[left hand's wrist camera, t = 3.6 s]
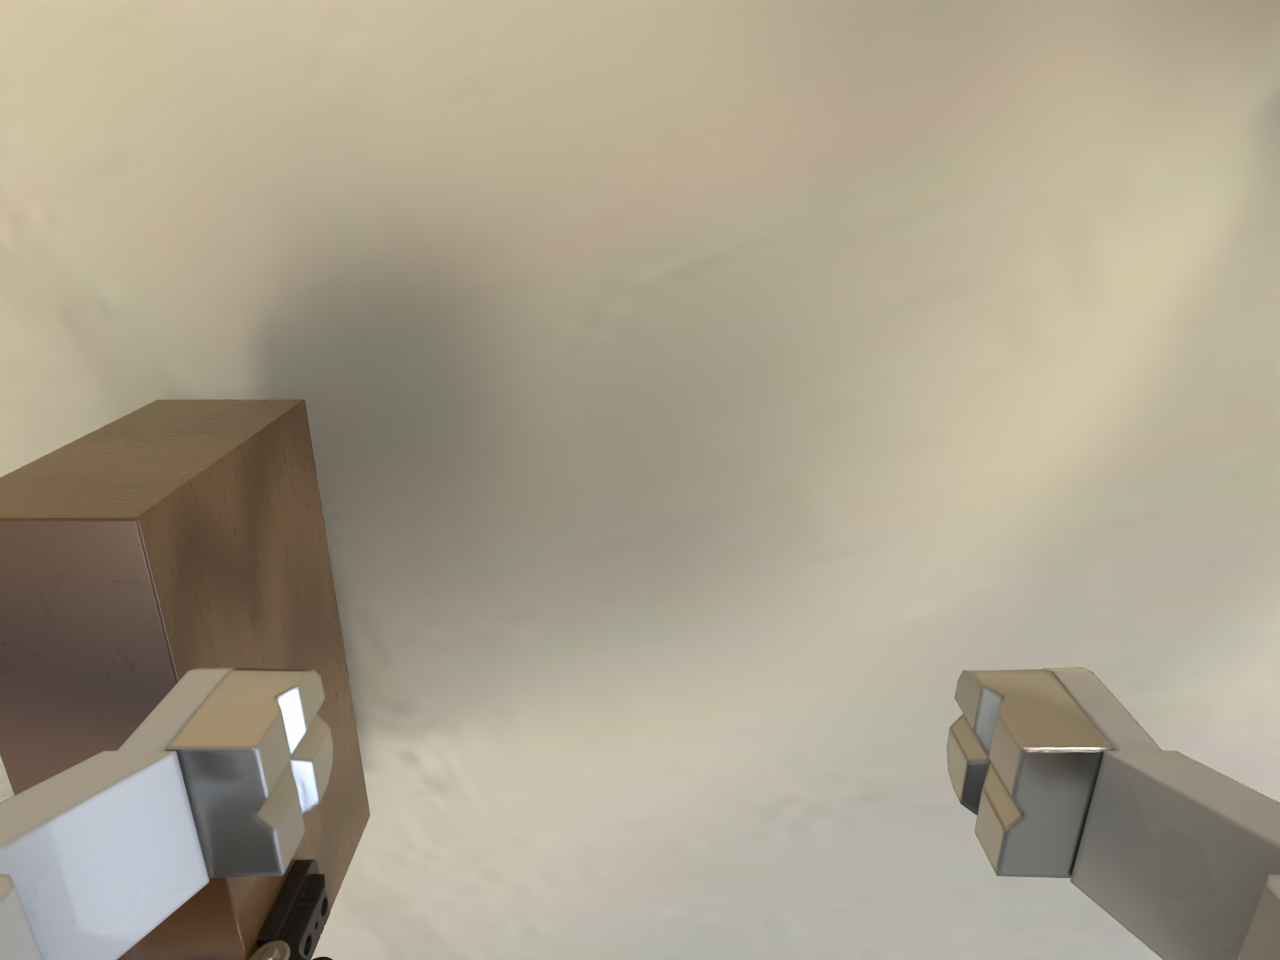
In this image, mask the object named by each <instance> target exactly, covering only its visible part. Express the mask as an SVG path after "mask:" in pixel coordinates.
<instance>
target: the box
mask: <svg viewBox="0 0 1280 960" xmlns="http://www.w3.org/2000/svg"><path fill="white" fill-rule="evenodd" d="M197 668H234V669H237V668H263V669H311V670H315V671H316V672H317V673H318V674H319V675H320V676H321V680H322V684H323V689H324V694H325V700H324V701H323V703H322V705H321V707H320V708H319V710H318V712H317V714H318V715H319V716H320V717H321V718H322V719H323V720H324V721H325V722H326V723H327V724H328V725H329V726H330V728H331V734H332V741H333V764H332V768H331V773H330V777H329V782H328V786H327V788H326V790H325V792H324V795H323V797H322V799H321V801H320V803H319V804H318V805H317V806H315V807H314V808H312V809H311V810H310V811H308V812H307V813H305V814H304V815H303V821H304V826H305V834H304V835H303V837H302V839H301V841H300V843H299V845H298V847H297V849H296V851H295V853H294V855H293V857H292V859H291V861H290V863H289V865H288V867H287V869H286V871H285V873H284V875H283V876H262V877H227V878H209V883H208V884H206V885H205V886H204V887H203V888H202V889H201V890H199V891H198V892H197V893H196V894H195V895H193V896H192V897H191V898H190V899H189V900H187V901H186V902H185V903H184V904H183V905H181V906H180V907H179V908H178V909H177V910H176V911H174V912H173V913H172V914H171V915H170V916H168V917H167V918H166V919H165V920H164V921H162V922H161V923H160V924H159V925H158V926H156V927H155V928H154V929H153V930H152V931H151V932H149V933H148V934H147V935H146V936H145V937H143V938H142V939H141V940H140V941H139V942H137V943H136V944H135V945H134V946H133V947H131V948H130V949H129V950H128V951H127V952H126V953H124V954H123V955H122V956H121V957H120V958H118V959H117V960H247V959H248V958H249V957H250V956H251V955H252V954H253V953H254V952H255V951H256V950H257V949H258V944H257V940H256V939H257V937H258V934H259V932H260V930H261V928H262V926H263V924H264V922H265V920H266V918H267V916H268V914H269V912H270V910H271V908H272V906H273V904H274V902H275V900H276V898H277V896H278V894H279V892H280V890H281V888H282V886H283V884H284V882H285V880H286V878H287V876H288V874H289V872H290V870H291V868H292V866H293V864H294V862H295V861H296V860H297V859H315V860H317V863H318V868H319V874H325V879H326V885H327V890H328V895H329V901H330V911H331V908H332V906H333V904H334V901H335V899H336V896H337V894H338V892H339V889H340V887H341V884H342V882H343V879H344V877H345V875H346V872H347V870H348V867H349V865H350V863H351V860H352V858H353V855H354V853H355V851H356V848H357V846H358V843H359V841H360V839H361V836H362V834H363V831H364V829H365V827H366V824H367V822H368V819H369V817H370V811H369V805H368V798H367V792H366V786H365V779H364V773H363V767H362V760H361V754H360V747H359V741H358V735H357V728H356V722H355V716H354V709H353V703H352V697H351V690H350V684H349V678H348V671H347V665H346V659H345V652H344V646H343V640H342V633H341V627H340V620H339V614H338V608H337V601H336V595H335V589H334V582H333V576H332V570H331V563H330V557H329V551H328V544H327V538H326V532H325V525H324V519H323V512H322V506H321V500H320V493H319V487H318V481H317V474H316V468H315V462H314V455H313V449H312V443H311V436H310V430H309V424H308V417H307V411H306V405H305V400H156V401H154V402H152V403H150V404H148V405H146V406H144V407H142V408H140V409H138V410H136V411H134V412H132V413H130V414H128V415H126V416H124V417H122V418H120V419H118V420H116V421H114V422H112V423H110V424H108V425H106V426H104V427H102V428H100V429H98V430H96V431H94V432H92V433H90V434H88V435H86V436H84V437H82V438H80V439H77V440H75V441H73V442H71V443H69V444H67V445H65V446H63V447H61V448H59V449H57V450H55V451H53V452H51V453H49V454H47V455H45V456H43V457H41V458H39V459H37V460H35V461H33V462H31V463H29V464H27V465H25V466H23V467H21V468H19V469H17V470H15V471H13V472H11V473H9V474H7V475H5V476H3V477H1V478H0V755H1V758H2V761H3V764H4V767H5V769H6V772H7V775H8V778H9V781H10V783H11V786H12V789H13V792H14V795H17V794H19V793H21V792H23V791H25V790H27V789H29V788H31V787H33V786H35V785H37V784H39V783H41V782H43V781H45V780H47V779H49V778H51V777H53V776H55V775H57V774H59V773H61V772H63V771H65V770H67V769H69V768H71V767H73V766H75V765H77V764H79V763H81V762H83V761H85V760H87V759H89V758H91V757H93V756H95V755H97V754H99V753H101V752H103V751H117V750H118V749H119V748H120V747H121V746H122V745H123V744H124V742H125V741H126V740H127V739H128V738H129V737H130V736H131V735H132V733H133V732H134V731H135V730H136V729H137V728H138V727H139V726H140V724H141V723H142V722H143V721H144V720H145V719H146V718H147V717H148V715H149V714H150V713H151V712H152V711H153V710H154V709H155V708H156V706H157V705H158V704H159V703H160V702H161V701H162V700H163V699H164V697H165V696H166V695H167V694H168V693H169V692H170V691H171V690H172V688H173V687H174V686H175V685H176V684H177V683H178V682H179V681H180V679H181V678H182V677H183V676H184V675H185V674H186V673H187V672H188V671H190V670H193V669H197Z"/></svg>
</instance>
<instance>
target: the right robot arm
mask: <svg viewBox="0 0 1280 960" xmlns="http://www.w3.org/2000/svg"><path fill="white" fill-rule="evenodd" d="M329 915H330V901H329V895H328V890H327V885H326V879H325V874H319V868H318V863H317V860H315V859H297V860H296V861H295V862H294V864H293V866H292V868H291V870H290V872H289V874H288V876H287V878H286V880H285V882H284V884H283V886H282V888H281V890H280V892H279V894H278V896H277V898H276V900H275V902H274V904H273V906H272V908H271V910H270V912H269V914H268V916H267V918H266V920H265V922H264V924H263V926H262V928H261V930H260V932H259V934H258V937H257V939H256V940H257V944H258V949H257V950H256V951H255V952H254V953H253V954H252V955H251V956H250V957H249V958H248V959H247V960H311V958H312V956H313V953H314V951H315V948H316V946H317V943H318V941H319V939H320V935H321V934H322V931H323V929H324V925H325V924H326V922H327V919H328V917H329ZM313 960H332V959H331V958H328V957H318V958H315V959H313Z"/></svg>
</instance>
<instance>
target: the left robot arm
mask: <svg viewBox="0 0 1280 960" xmlns="http://www.w3.org/2000/svg"><path fill="white" fill-rule="evenodd" d="M324 700H325V694H324V689H323V684H322V680H321V676H320V675H319V674H318V673H317V672H316V671H315V670H311V669H263V668H237V669H234V668H197V669H193V670H190V671H188V672H187V673H186V674H185V675H184V676H183V677H182V678H181V679H180V681H179V682H178V683H177V684H176V685H175V686H174V687H173V688H172V690H171V691H170V692H169V693H168V694H167V695H166V696H165V697H164V699H163V700H162V701H161V702H160V703H159V704H158V705H157V706H156V708H155V709H154V710H153V711H152V712H151V713H150V714H149V715H148V717H147V718H146V719H145V720H144V721H143V722H142V723H141V724H140V726H139V727H138V728H137V729H136V730H135V731H134V732H133V733H132V735H131V736H130V737H129V738H128V739H127V740H126V741H125V742H124V744H123V745H122V746H121V747H120V748H119V749H118V750H117V751H103V752H101V753H99V754H97V755H95V756H93V757H91V758H89V759H87V760H85V761H83V762H81V763H79V764H77V765H75V766H73V767H71V768H69V769H67V770H65V771H63V772H61V773H59V774H57V775H55V776H53V777H51V778H49V779H47V780H45V781H43V782H41V783H39V784H37V785H35V786H33V787H31V788H29V789H27V790H25V791H23V792H21V793H19V794H17V795H15V796H13V797H11V798H9V799H7V800H5V801H3V802H1V803H0V960H117V959H118V958H120V957H121V956H122V955H123V954H124V953H126V952H127V951H128V950H129V949H130V948H131V947H133V946H134V945H135V944H136V943H137V942H139V941H140V940H141V939H142V938H143V937H145V936H146V935H147V934H148V933H149V932H151V931H152V930H153V929H154V928H155V927H156V926H158V925H159V924H160V923H161V922H162V921H164V920H165V919H166V918H167V917H168V916H170V915H171V914H172V913H173V912H174V911H176V910H177V909H178V908H179V907H180V906H181V905H183V904H184V903H185V902H186V901H187V900H189V899H190V898H191V897H192V896H193V895H195V894H196V893H197V892H198V891H199V890H201V889H202V888H203V887H204V886H205V885H206V884H208V883H209V878H227V877H262V876H283V875H284V873H285V871H286V869H287V867H288V865H289V863H290V861H291V859H292V857H293V855H294V853H295V851H296V849H297V847H298V845H299V843H300V841H301V839H302V837H303V835H304V834H305V826H304V821H303V815H304V814H305V813H307V812H308V811H310V810H311V809H312V808H314V807H315V806H317V805H318V804H319V803H320V801H321V799H322V797H323V795H324V792H325V790H326V788H327V786H328V782H329V777H330V773H331V768H332V764H333V741H332V734H331V728H330V726H329V725H328V724H327V723H326V722H325V721H324V720H323V719H322V718H321V717H320V716H319V715H318V714H317V712H318V710H319V708H320V707H321V705H322V703H323V701H324ZM955 700H956V701H957V703H958V705H959V707H960V708H961V710H962V712H963V714H962V715H961V716H960V717H959V718H958V719H957V720H956V721H955V722H954V723H953V724H952V725H951V726H950V728H949V736H948V743H947V759H948V771H949V775H950V778H951V782H952V785H953V788H954V791H955V793H956V795H957V797H958V799H959V801H960V803H961V804H962V805H963V806H965V807H966V808H968V809H969V810H970V811H972V812H973V813H975V814H976V815H977V821H976V826H975V834H976V835H977V837H978V839H979V841H980V843H981V845H982V847H983V849H984V851H985V853H986V855H987V857H988V859H989V861H990V863H991V865H992V867H993V869H994V871H995V873H996V875H997V876H1016V877H1052V878H1071V881H1070V882H1072V883H1073V884H1074V885H1075V886H1076V887H1078V888H1079V889H1080V890H1081V891H1082V892H1083V893H1085V894H1086V895H1087V896H1088V897H1089V898H1091V899H1092V900H1093V901H1094V902H1095V903H1097V904H1098V905H1099V906H1100V907H1101V908H1102V909H1104V910H1105V911H1106V912H1107V913H1108V914H1110V915H1111V916H1112V917H1113V918H1114V919H1116V920H1117V921H1118V922H1119V923H1120V924H1121V925H1123V926H1124V927H1125V928H1126V929H1127V930H1129V931H1130V932H1131V933H1132V934H1133V935H1135V936H1136V937H1137V938H1138V939H1139V940H1140V941H1142V942H1143V943H1144V944H1145V945H1146V946H1148V947H1149V948H1150V949H1151V950H1152V951H1154V952H1155V953H1156V954H1157V955H1158V956H1159V957H1161V958H1162V959H1163V960H1280V803H1279V802H1277V801H1275V800H1273V799H1271V798H1269V797H1267V796H1265V795H1263V794H1261V793H1259V792H1257V791H1255V790H1253V789H1251V788H1249V787H1247V786H1245V785H1243V784H1241V783H1239V782H1237V781H1235V780H1233V779H1231V778H1229V777H1227V776H1225V775H1223V774H1221V773H1219V772H1217V771H1215V770H1213V769H1211V768H1209V767H1207V766H1205V765H1203V764H1201V763H1199V762H1197V761H1195V760H1193V759H1191V758H1189V757H1187V756H1185V755H1183V754H1181V753H1179V752H1177V751H1163V750H1162V749H1161V748H1160V747H1159V746H1158V745H1157V744H1156V742H1155V741H1154V740H1153V739H1152V738H1151V737H1150V736H1149V735H1148V733H1147V732H1146V731H1145V730H1144V729H1143V728H1142V727H1141V726H1140V724H1139V723H1138V722H1137V721H1136V720H1135V719H1134V718H1133V717H1132V715H1131V714H1130V713H1129V712H1128V711H1127V710H1126V709H1125V708H1124V706H1123V705H1122V704H1121V703H1120V702H1119V701H1118V700H1117V699H1116V697H1115V696H1114V695H1113V694H1112V693H1111V692H1110V691H1109V690H1108V688H1107V687H1106V686H1105V685H1104V684H1103V683H1102V682H1101V681H1100V679H1099V678H1098V677H1097V676H1096V675H1095V674H1094V673H1093V672H1092V671H1090V670H1088V669H1085V668H1083V667H1075V668H1045V669H1037V670H971V671H963V672H962V674H961V676H960V678H959V680H958V682H957V688H956V693H955Z"/></svg>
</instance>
